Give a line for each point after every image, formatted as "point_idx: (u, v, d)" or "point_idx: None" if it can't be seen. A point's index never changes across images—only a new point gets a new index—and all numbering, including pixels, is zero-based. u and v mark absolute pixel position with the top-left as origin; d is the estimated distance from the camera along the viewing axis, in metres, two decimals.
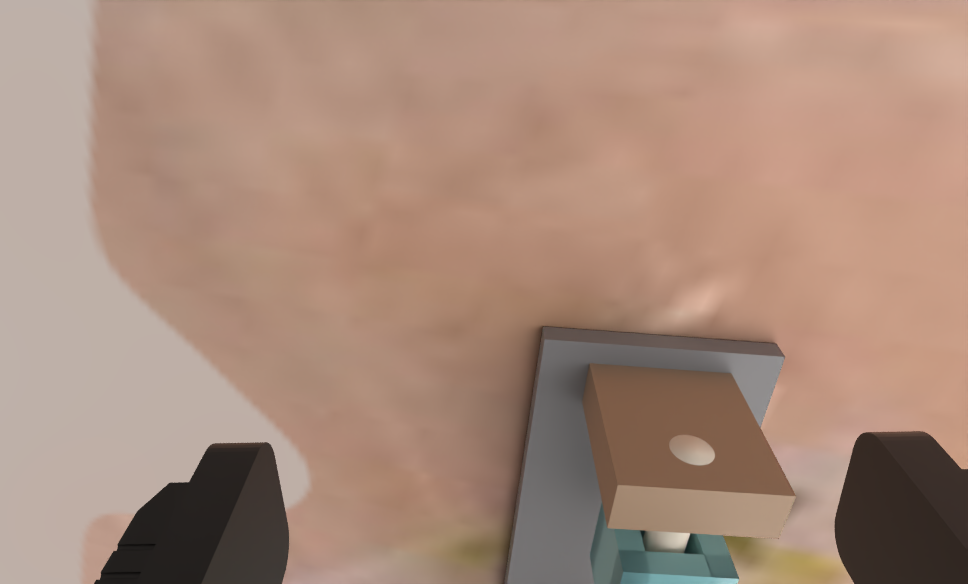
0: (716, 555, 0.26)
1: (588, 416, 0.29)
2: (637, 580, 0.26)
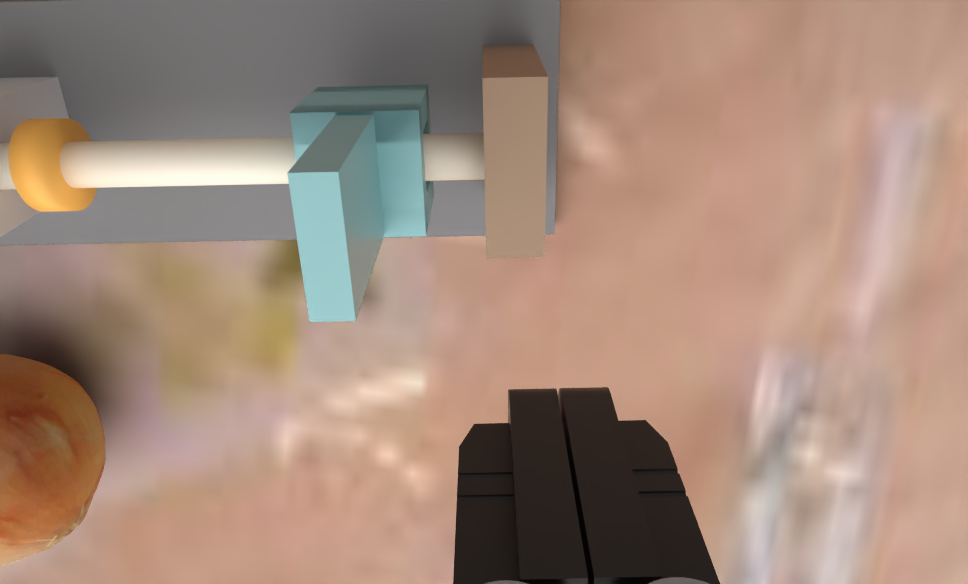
0: (427, 210, 0.25)
1: (494, 51, 0.27)
2: (407, 129, 0.22)
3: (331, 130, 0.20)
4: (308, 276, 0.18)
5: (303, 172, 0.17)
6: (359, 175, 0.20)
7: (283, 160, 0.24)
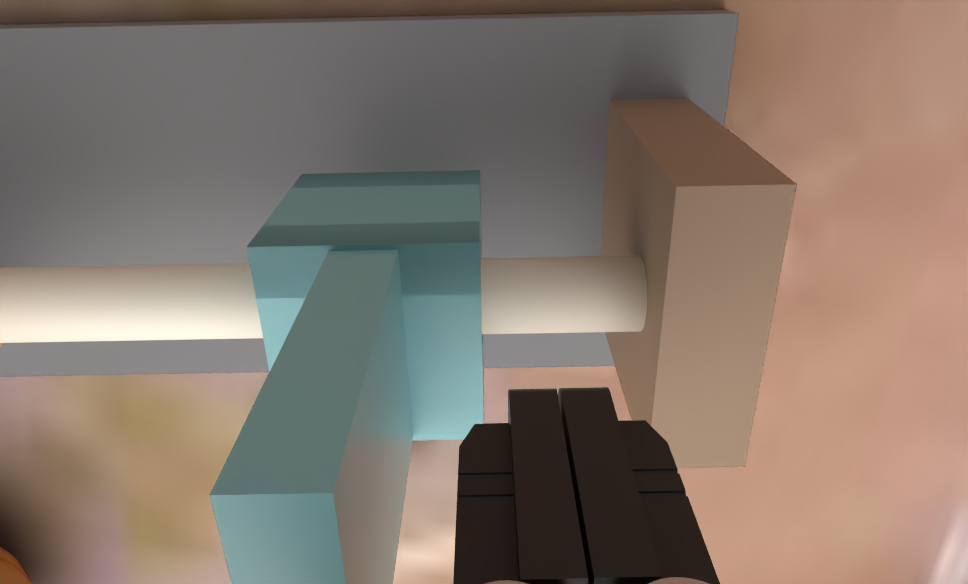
0: (483, 388, 0.15)
1: (638, 113, 0.17)
2: (457, 274, 0.13)
3: (321, 302, 0.11)
4: None
5: (249, 491, 0.07)
6: (376, 409, 0.10)
7: None
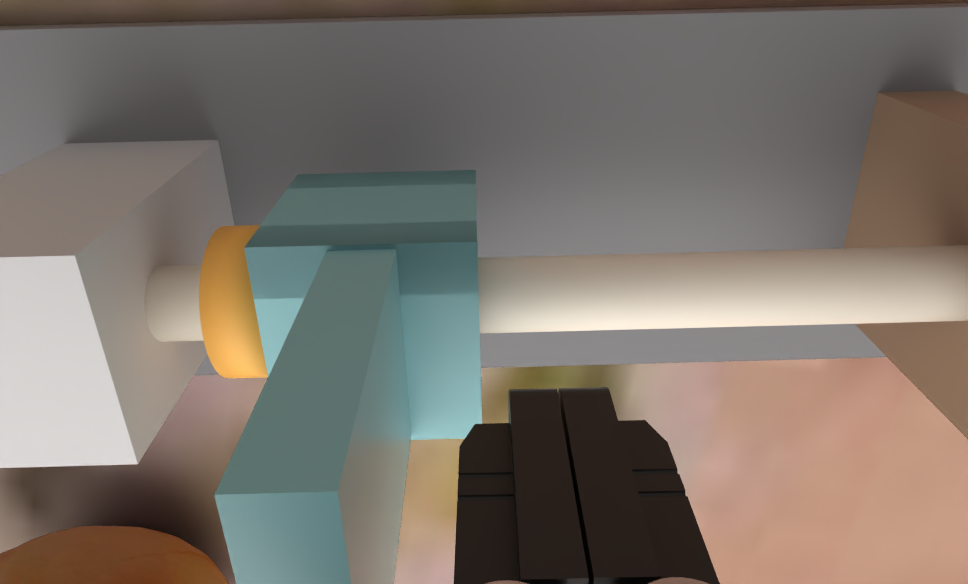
0: None
1: (928, 104, 0.17)
2: (456, 274, 0.13)
3: (320, 302, 0.11)
4: None
5: (254, 491, 0.07)
6: (377, 408, 0.10)
7: (654, 298, 0.14)
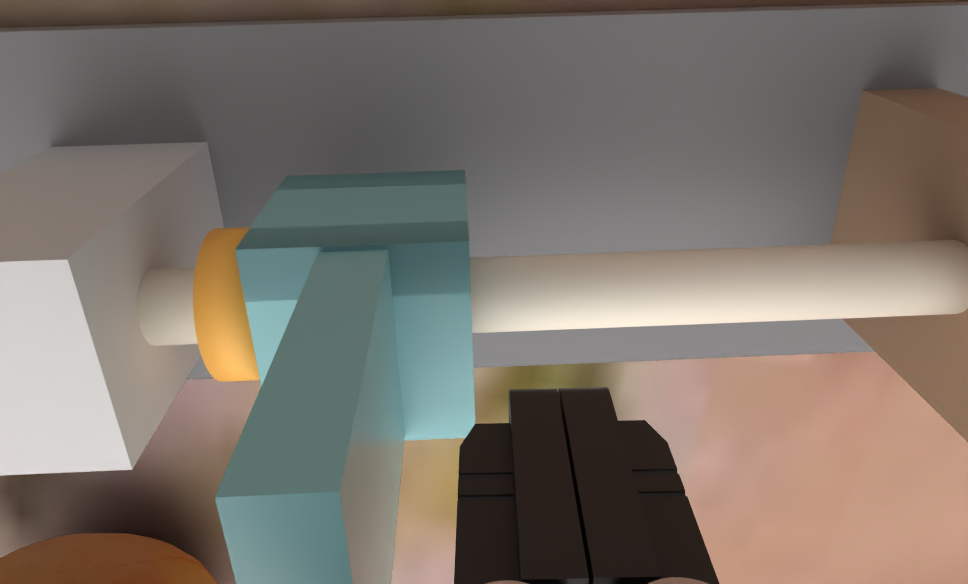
0: None
1: (912, 102, 0.17)
2: (448, 273, 0.13)
3: (314, 304, 0.11)
4: None
5: (254, 493, 0.07)
6: (374, 409, 0.10)
7: (648, 295, 0.14)
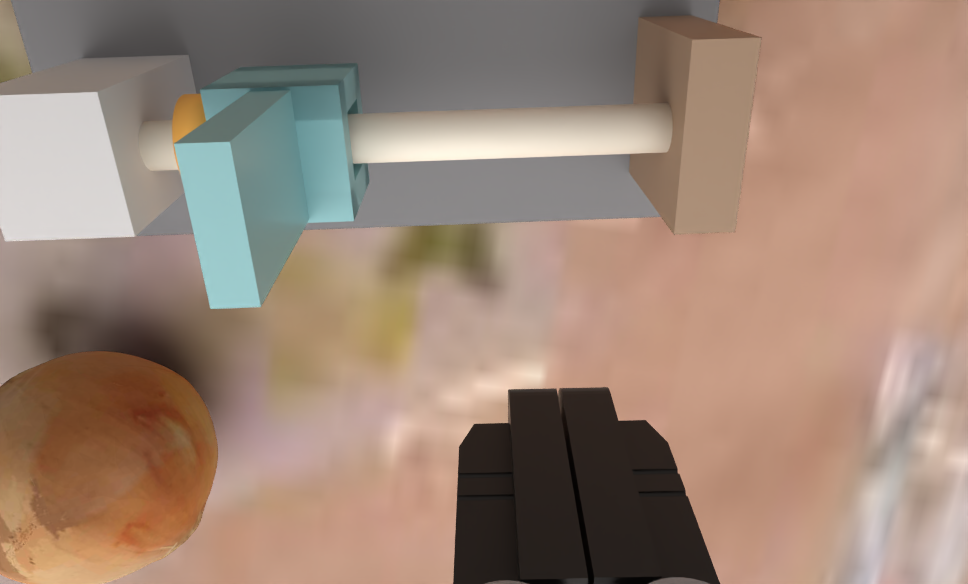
0: (356, 194, 0.23)
1: (660, 20, 0.25)
2: (327, 106, 0.21)
3: (239, 104, 0.19)
4: (205, 258, 0.17)
5: (191, 143, 0.15)
6: (266, 151, 0.18)
7: (459, 134, 0.23)
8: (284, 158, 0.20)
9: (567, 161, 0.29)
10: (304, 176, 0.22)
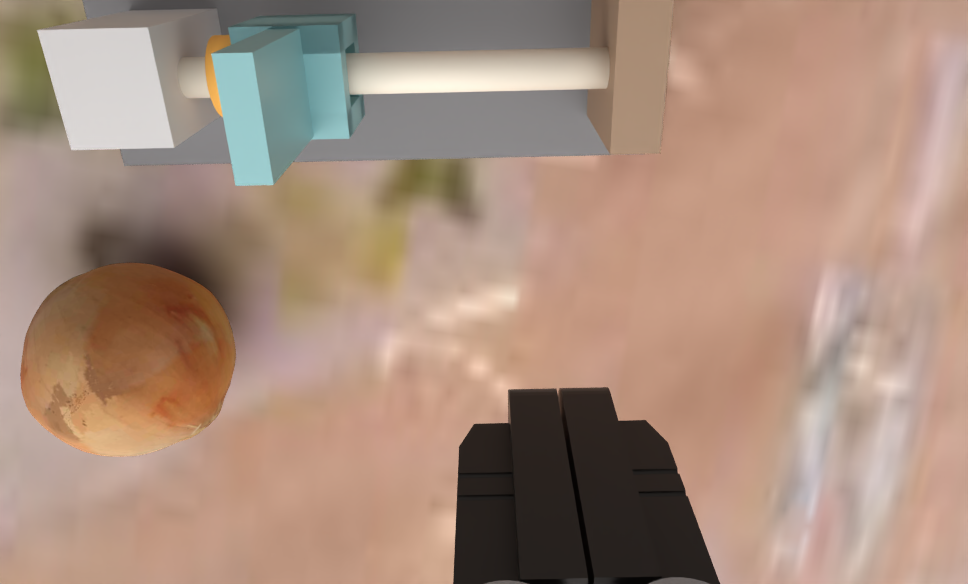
0: (352, 119, 0.29)
1: None
2: (328, 42, 0.26)
3: (259, 35, 0.24)
4: (232, 144, 0.22)
5: (224, 53, 0.21)
6: (279, 69, 0.23)
7: (436, 69, 0.28)
8: (293, 80, 0.25)
9: (534, 104, 0.34)
10: (310, 100, 0.27)
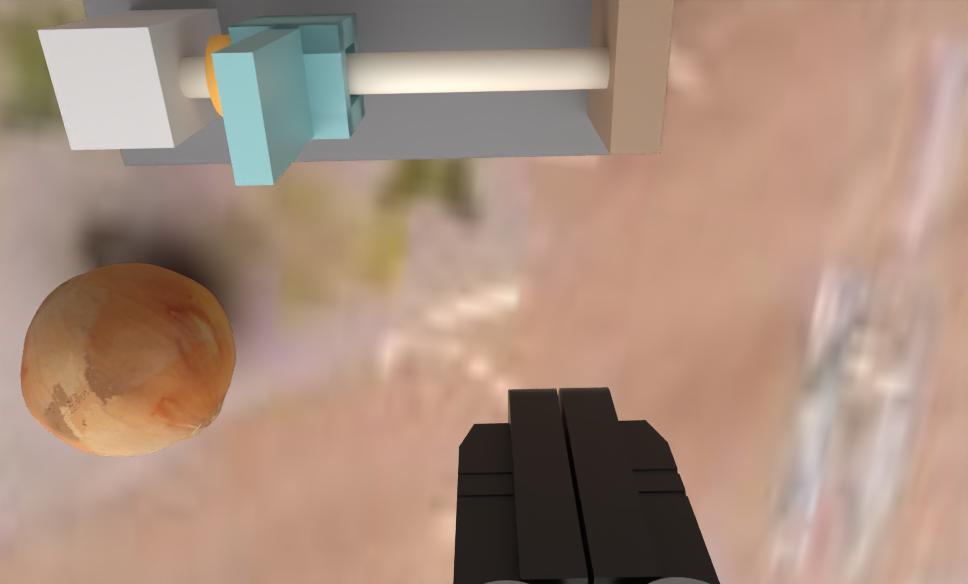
0: (352, 119, 0.29)
1: None
2: (328, 42, 0.26)
3: (259, 35, 0.24)
4: (232, 144, 0.22)
5: (224, 53, 0.21)
6: (279, 69, 0.23)
7: (436, 69, 0.28)
8: (293, 80, 0.25)
9: (534, 104, 0.34)
10: (310, 100, 0.27)
